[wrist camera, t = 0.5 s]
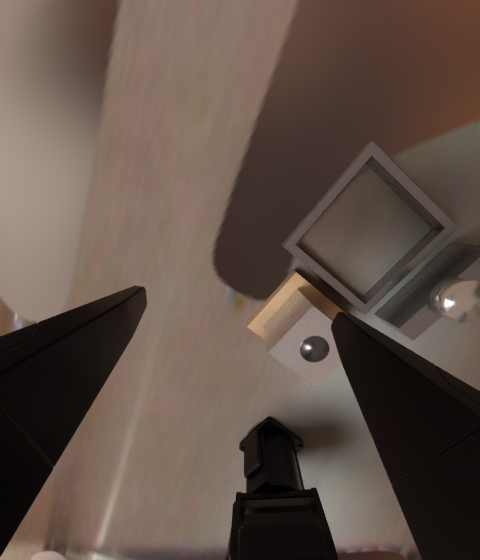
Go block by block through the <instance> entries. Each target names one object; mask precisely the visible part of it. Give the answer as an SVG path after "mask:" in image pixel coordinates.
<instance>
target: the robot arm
mask: <svg viewBox="0 0 480 560" xmlns="http://www.w3.org/2000/svg"><path fill="white" fill-rule="evenodd" d="M146 306H147V298H146V290H145V288H144V287H141V286H133V287H130V288H127V289H125V290H122V291H119V292H117V293H114V294H111V295H109V296H106V297H104V298H101V299H98V300H96V301H93V302H90V303H88V304H85V305H82V306H80V307H77V308H75V309H72V310H69V311H67V312H64V313H61V314H59V315H56V316H53V317H51V318H48V319H46V320H43V321H40V322H39V323H38V324H37V323H35V324H32V325H30V326H27V327H24V328H22V329H19V330H16V331H14V332H11V333H8V334H5V335H3V336H0V557H1V555H2V553H3V552H4V550H5V548H6V547H7V545H8V543H9V542H10V540H11V538H12V537H13V535H14V533H15V532H16V530H17V528H18V527H19V525H20V523H21V522H22V520H23V518H24V517H25V515H26V514H27V512H28V510H29V509H30V507H31V505H32V504H33V502H34V500H35V499H36V497H37V495H38V494H39V492H40V490H41V489H42V487H43V485H44V484H45V482H46V480H47V479H48V477H49V475H50V474H51V472H52V470H53V467H54V466H55V465H56V463H57V462H58V460H59V458H60V457H61V455H62V453H63V452H64V450H65V448H66V447H67V445H68V443H69V442H70V440H71V438H72V437H73V435H74V433H75V432H76V430H77V428H78V427H79V425H80V423H81V422H82V420H83V418H84V417H85V415H86V413H87V412H88V410H89V408H90V407H91V405H92V403H93V402H94V400H95V398H96V397H97V395H98V393H99V392H100V390H101V388H102V387H103V385H104V383H105V382H106V380H107V378H108V377H109V375H110V374H111V372H112V370H113V369H114V367H115V365H116V364H117V362H118V360H119V359H120V357H121V355H122V354H123V352H124V350H125V349H126V347H127V345H128V344H129V342H130V340H131V338H132V337H133V335H134V333H135V330H136V328H137V326H138V324H139V322H140V319H141V317H142V315H143V313H144V311H145V308H146ZM331 331H332V334H333V337H334V341H335V344H336V348H337V351H338V354H339V357H340V360H341V363H342V365H343V368H344V370H345V372H346V375H347V377H348V380H349V382H350V385H351V387H352V389H353V392H354V394H355V397H356V399H357V402H358V404H359V407H360V409H361V411H362V414H363V416H364V419H365V421H366V424H367V426H368V428H369V431H370V433H371V436H372V438H373V441H374V443H375V445H376V448H377V450H378V453H379V455H380V458H381V460H382V463H383V465H384V467H385V470H386V472H387V475H388V477H389V480H390V482H391V484H392V487H393V490H394V492H395V495H396V497H397V499H398V502H399V504H400V507H401V509H402V512H403V514H404V517H405V519H406V521H407V524H408V526H409V529H410V531H411V534H412V536H413V538H414V541H415V543H416V546H417V548H418V551H419V553H420V556H421V558H422V560H480V391H479V390H477V389H475V388H473V387H472V386H470V385H468V384H466V383H465V382H463V381H461V380H460V379H458V378H456V377H454V376H453V375H451V374H449V373H448V372H446V371H444V370H443V369H441V368H439V367H438V366H435V365H434V364H433V363H431V362H429V361H428V360H426V359H424V358H423V357H421V356H419V355H418V354H416V353H414V352H413V351H411V350H409V349H408V348H406V347H404V346H403V345H401V344H399V343H398V342H396V341H394V340H393V339H391V338H389V337H388V336H386V335H384V334H383V333H381V332H379V331H378V330H376V329H375V328H373V327H371V326H370V325H368V324H366V323H365V322H363V321H361V320H360V319H358V318H356V317H355V316H353V315H351V314H350V313H347V312H338V313H337V314H336V316H335V318H334V320H333V322H332V324H331ZM303 447H304V444H303V441H302V440H301V439H299V438H298V437H297V436H295V435H294V434H292V433H291V432H289V431H288V430H286V429H285V428H284V427H282V426H281V425H279V424H278V423H276V422H275V421H274V420H272V419H270V418H267V419H266V420H265V421H263V422H262V423H261V424H260V425H259V426H258V427H257V428H256V429H255V430H254V431H253V432H252V433H251V434H249V435H248V436H247V437H246V438H245V439H244V440H243V441H242V442H241V443H240V445H239V449H240V450H241V451H243V452H244V476H245V478H246V493H242V492H237V493H236V502H234V504H233V514H232V527H231V533H230V538H229V543H228V548H227V553H226V559H225V560H338V557H337V553H336V549H335V545H334V542H333V539H332V535H331V532H330V529H329V526H328V523H327V520H326V517H325V514H324V510H323V507H322V504H321V501H320V498H319V495H318V492H317V489H316V488H311V489H306V490H305V489H304V485H303V480H302V476H301V471H300V467H299V462H298V458H297V454H296V453H297V452H298V451H299V450H300V449H302V448H303Z"/></svg>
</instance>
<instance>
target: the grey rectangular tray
mask: <svg viewBox="0 0 480 560" xmlns="http://www.w3.org/2000/svg"><path fill="white" fill-rule="evenodd" d="M365 163H367V164H368V165H369V166H370V167H371V168H372V169H373V170H374V171H375V172H376V173H377V174H378V175H379V176H380V177H381V178H382V179H383V180H384V181H385V182H386V183H387V184H388V185H389V186H390V187H391V188H392V189H393V190H394V191H395V192H396V193H397V194H398V195H399V196H400V197H401V198H402V199H404V200H405V201H406V202H407V203H408V204H409V205H410V206H411V207H412V208H413V209H414V210H415V211H416V212H417V213H418V214H419V215H420V216H421V217H422V218H423V219H424V220H425V221H426V222H427V223H428V224H429V225H430V226H431V227H432V228H433V229H432V230H431V231H430V232H429V233H428V234H427V235H426V236H425V237H424V238H423V239H422V240H421V241H420V242H419V243H418V244H417V245H416V246H415V247H414V248H413V249H412V250H411V251H410V252H409V253H407V254H406V255H405V256H404V257H403V258H402V259H401V260H400V261H399V262H398V263H397V264H396V265H395V266H394V267H393V268H392V269H391V270H390V271H389V272H388V273H387V274H386V275H385V276H384V277H383V278H382V279H381V280H380V281H379V282H378V283H377V284H376V285H375V286H374V287H373V288H372V289H370V290H369V291H368V292H367V293H366V294H365V295H364V296H363V297H362V298H361V299H358V298H357V297H356V296H355V295H354V294H353V293H351V292H350V291H349V290H348V289H347V288H346V287H344V286H343V285H342V284H341V283H340V282H339V281H337V280H336V279H335V278H334V277H333V276H331V275H330V274H329V273H328V272H327V271H326V270H324V269H323V268H322V267H321V266H320V265H319V264H317V263H316V262H315V261H314V260H313V259H312V258H310V257H309V256H308V255H307V254H306V253H304V252H303V251H302V250H301V249H300V248H299V247H297V246H296V245H295V244H296V243H297V242H298V240H299V239H300V238H301V237H302V236H303V235H304V233H305V232H306V231H307V230H308V229H309V228H310V226H311V225H312V224H313V223H314V222H315V221H316V220H317V218H318V217H319V216H320V215H321V214H322V213H323V211H324V210H325V209H326V208H327V207H328V206H329V204H330V203H331V202H332V201H333V200H334V199H335V197H336V196H337V195H338V194H339V193H340V192H341V191H342V189H343V188H344V187H345V186H346V185H347V184H348V182H349V181H350V180H351V179H352V178H353V177H354V175H355V174H356V173H357V172H358V171H359V170H360V168H361V167H362V166H363V165H364V164H365ZM457 227H458V226H457V225H456V224H455V223H454V222H453V221H452V220H451V219H450V218H449V217H448V216H447V215H446V214H445V213H444V212H443V211H442V210H441V209H440V208H439V207H438V206H437V205H436V204H435V203H434V202H433V201H432V200H431V199H430V198H429V197H428V196H427V195H426V194H425V193H424V192H423V191H422V190H421V189H420V188H419V187H418V186H417V185H416V184H415V183H414V182H413V181H412V180H411V179H410V178H409V177H408V176H407V175H406V174H405V173H404V172H403V171H402V170H401V169H400V168H399V167H398V166H397V165H396V164H395V163H394V162H393V161H392V160H391V159H390V158H389V157H388V156H387V155H386V154H385V153H384V152H383V151H382V150H381V149H380V148H379V147H378V146H377V145H376V144H375V143H374V142H373V141H372V142H370V143H369V144H368V145H366V146H365V147H364V148H363V149H362V151H361V152H360V153H359V154H358V155H357V156H356V157H355V159H354V160H353V161H352V162H351V164H350V165H349V166H348V167H347V168H346V169H345V171H344V172H343V173H342V174H341V175H340V176H339V178H338V179H337V180H336V181H335V182H334V184H333V185H332V186H331V187H330V188H329V189H328V191H327V192H326V193H325V194H324V195H323V197H322V198H321V199H320V200H319V201H318V202H317V204H316V205H315V206H314V207H313V208H312V210H311V211H310V212H309V213H308V214H307V216H306V217H305V218H304V219H303V220H302V222H301V223H300V224H299V225H298V226H297V227H296V229H295V230H294V231H293V232H292V233H291V234H290V236H289V237H288V238H287V239H286V240H285V242H284V243H283V244H282V246H283V247H284V248H285V249H287V250H288V251H289V252H290V253H292V254H293V255H294V256H295V257H296V258H297V259H299V260H300V261H301V262H302V263H303V264H304V265H306V266H307V267H308V268H309V269H310V270H312V271H313V272H314V273H315V274H316V275H318V276H319V277H320V278H321V279H322V280H323V281H325V282H326V283H327V284H328V285H329V286H331V287H332V288H333V289H334V290H335V291H337V292H338V293H339V294H340V295H341V296H342V297H344V298H345V299H346V300H347V301H348V302H350V303H351V304H352V305H353V306H354V307H356V308H357V309H358V310H359V311H361V312H362V313H364V314H366V313H367V312H368V311H369V310H370V309H371V308H372V307H374V306H375V305H376V304H377V303H378V302H379V301H380V300H381V299H382V298H383V297H384V296H385V295H386V294H387V293H388V292H389V291H390V290H392V289H393V288H394V287H395V286H396V285H397V284H398V283H399V282H400V281H401V280H402V279H403V278H404V277H405V276H406V275H407V274H408V273H409V272H411V271H412V270H413V269H414V268H415V267H416V266H417V265H418V264H419V263H420V262H421V261H422V260H423V259H424V258H425V257H426V256H427V255H429V254H430V253H431V252H432V251H433V250H434V249H435V248H436V247H437V246H438V245H439V244H440V243H441V242H442V241H443V240H444V239H445V238H447V237H448V236H449V235H450V234H451V233H452V232H453V231H454V230H455V229H456V228H457ZM375 315H376V316H378V317H379V318H380V319H381V320H382V321H383V322H385V323H386V324H387V325H389V326H390V327H392V328H393V329H395V330H396V331H398V332H400V333H401V334H403V335H404V336H406V337H408V338H409V339H411V340H412V341H413V340H415V339H416V338H417V337H418V336H419V335H420V334H422V333H423V332H424V331H425V330H426V329H427V328H429V327H430V326H431V325H432V324H433V323H435V322H436V321H437V320H438V319H439V318H440V317H442V316H445V317H448V318H450V319H452V320H455V321H458V322H470V321H473V320H476V319H478V318H480V245H457V244H449V245H448V246H447V247H446V248H445V249H444V250H443V251H441V252H440V253H439V254H438V255H437V256H436V257H435V258H434V259H433V260H432V261H431V262H430V263H429V264H428V265H426V266H425V267H424V268H423V269H422V270H421V271H420V272H419V273H418V274H417V275H416V276H415V277H414V278H413V279H411V280H410V281H409V282H408V283H407V284H406V285H405V286H404V287H403V288H402V289H401V290H400V291H399V292H398V293H396V294H395V295H394V296H393V297H392V298H391V299H390V300H389V301H388V302H387V303H386V304H385V305H384V306H383V307H381V308H380V309H379V310H378V311H377V312H376V313H375Z"/></svg>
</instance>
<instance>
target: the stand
mask: <svg viewBox="0 0 480 560" xmlns="http://www.w3.org/2000/svg"><path fill="white" fill-rule="evenodd" d="M296 289H298V290H299V291H301V292H302V293H303V294H304V295H305V296H307V297H308V298H309V299H310V300H312V301H313V302H314V303H315V304H316V305H318V306H319V307H320V308H321V309H323V310H324V311H325V312H326V313H327V314H329V315H330V316H331V317H332V318H335V316H336V314H337V313H338V312H344V311H342V310H341V309H340V308H339V307H338V306H336V305H335V304H334V303H333V302H332V301H330V300H329V299H328V298H327V297H326V296H324V295H323V294H322V293H321V292H320V291H318V290H317V289H316V288H315V287H314V286H312V285H311V284H310V283H309V282H308V281H306V280H305V279H304V278H303V277H301V276H300V275H299V274H298V273H297V272H295V271H294V270H293V271H292V272H291V273H290V275H289V276H288V277H287V278H286V279H285V280H284V281H283V282H282V284H281V285H280V286H279V287H278V288H277V289H276V290H275V291H274V293H273V294H272V295H271V296H270V297H269V298H268V299H267V300H266V301H265V303H264V304H263V305H262V306H261V307H260V308H259V309H258V310H257V312H256V313H255V314H254V315H253V316H252V317H251V318H250V319H249V321H248V322H247V327H248V328H250V329H251V330H252V331H254V332H255V333H256V334H258V335H259V336H260V337H261V338H263V339H264V340H265V341H266V339H265V333H264V328H263V325H264V324H265V323H266V322H267V321H268V320H269V318H270V317H271V316H272V315H273V314H274V313H275V312H276V311H277V310H278V309H279V308H280V306H281V305H282V304H283V303H284V302H285V301H286V300H287V299H288V298H289V297H290V296H291V295H292V293H293V292H294V291H295V290H296Z"/></svg>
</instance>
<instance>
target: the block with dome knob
mask: <svg viewBox="0 0 480 560" xmlns="http://www.w3.org/2000/svg"><path fill="white" fill-rule="evenodd" d="M333 320H334V318H332V317H331V316H330V315H329V314H327V313H326V312H325V311H324V310H323V309H321V308H320V307H319V306H318V305H316V304H315V303H314V302H313V301H312V300H310V299H309V298H308V297H307V296H305V295H304V294H303V293H302V292H301V291H299V290H298V289H296V290H295V291H294V292H293V293H292V295H291V296H290V297H289V298H288V299H287V300H286V301H285V302H284V303H283V304H282V305H281V306H280V308H279V309H278V310H277V311H276V312H275V313H274V314H273V315H272V316H271V317H270V318H269V320H268V321H267V322H266V323H265V324H264V325H263V328H264V333H265V339H266V345H267V350H268V353H269V354H270V355H272V356H273V357H274V358H276V359H277V360H278V361H280V362H281V363H282V364H284V365H285V366H286V367H288V368H289V369H290V370H292V371H293V372H294V373H296V374H297V375H298V376H300V377H301V378H302V379H304V380H305V381H306V382H308V383H309V384H310V385H312V386H313V387H314V388H316V387H317V386H318V385H319V384H320V383H321V382H323V381H324V380H325V379H326V378H327V377H328V376H329V375H330V374H331V373H332V372H334V371H335V370H336V369H337V368H338V367H339V366H340V365H341V364H342V363H341V360H340V357H339V354H338V351H337V348H336V344H335V341H334V337H333V334H332V331H331V324H332V322H333Z"/></svg>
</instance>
